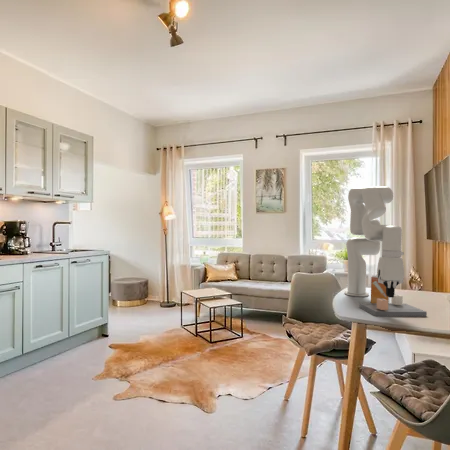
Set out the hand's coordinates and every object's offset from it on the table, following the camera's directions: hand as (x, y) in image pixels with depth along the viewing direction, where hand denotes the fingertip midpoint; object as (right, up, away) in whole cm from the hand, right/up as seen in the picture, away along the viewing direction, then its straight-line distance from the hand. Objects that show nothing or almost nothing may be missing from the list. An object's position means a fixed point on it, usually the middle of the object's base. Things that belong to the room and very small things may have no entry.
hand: (390, 296), depth 153 cm
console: (+3, -8, +4) cm, 9 cm away
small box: (+6, -8, +23) cm, 25 cm away
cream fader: (+8, -5, +10) cm, 13 cm away
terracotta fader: (-4, -5, -1) cm, 6 cm away
